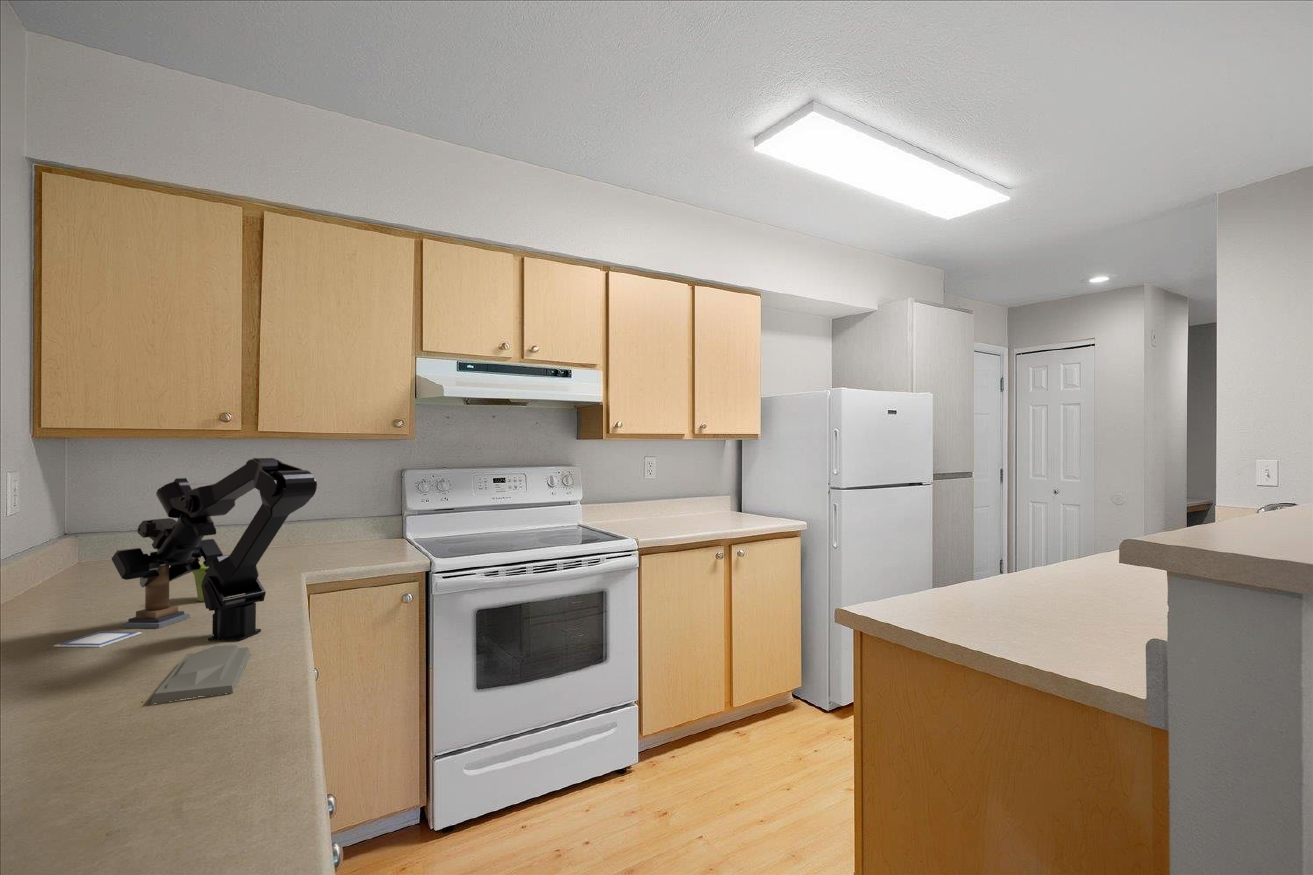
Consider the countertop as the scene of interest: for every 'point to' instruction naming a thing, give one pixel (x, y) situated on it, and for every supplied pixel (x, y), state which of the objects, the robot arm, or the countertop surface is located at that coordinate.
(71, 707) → the countertop surface
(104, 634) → the print card
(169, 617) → the ink pad
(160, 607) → the stamp
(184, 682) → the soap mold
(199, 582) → the plant pot
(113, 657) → the countertop surface
